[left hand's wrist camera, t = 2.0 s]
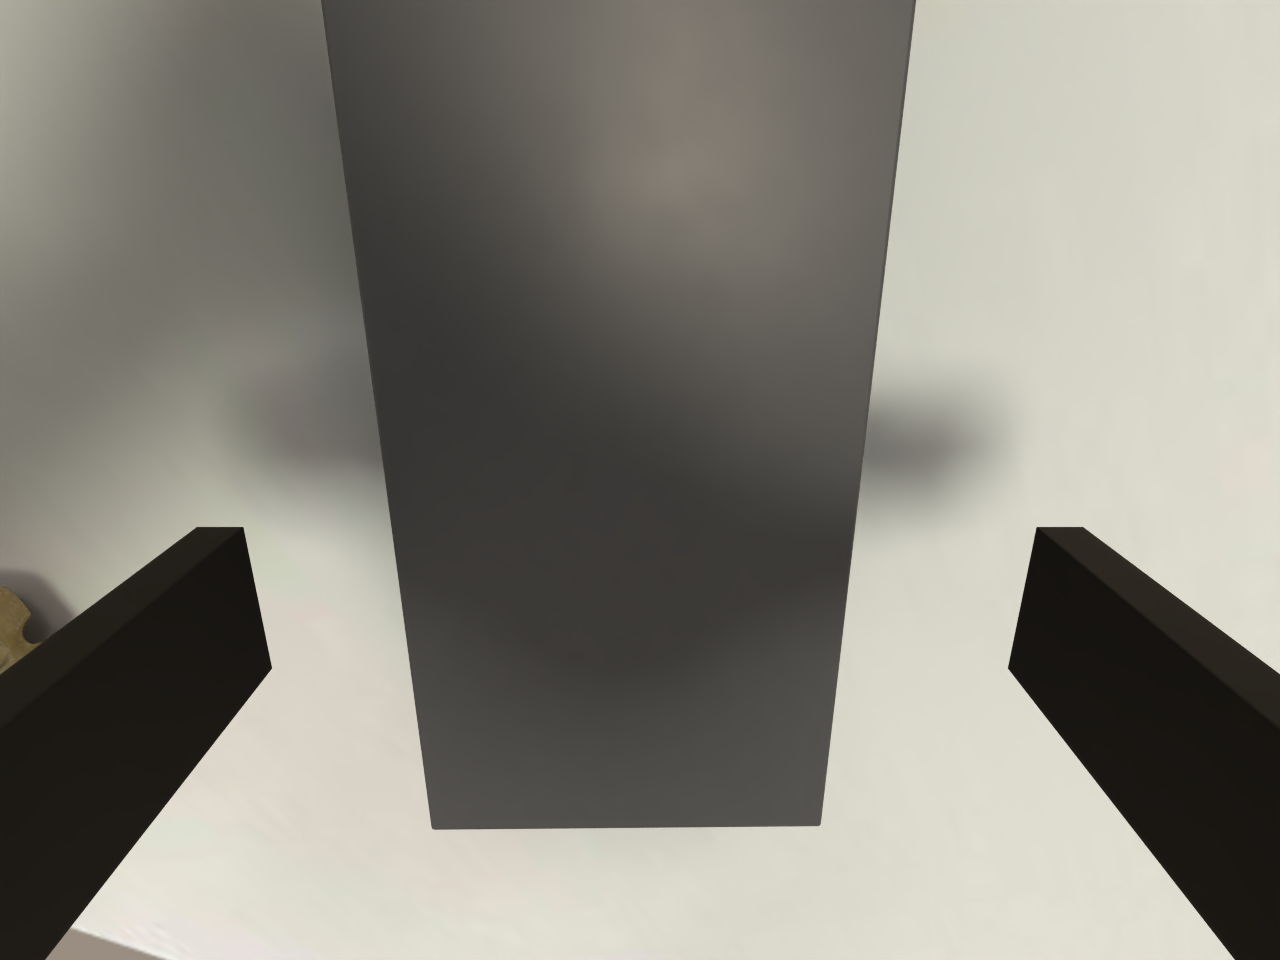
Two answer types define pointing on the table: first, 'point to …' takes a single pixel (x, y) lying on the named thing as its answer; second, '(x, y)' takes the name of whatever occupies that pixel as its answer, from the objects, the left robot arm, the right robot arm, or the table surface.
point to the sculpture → (12, 629)
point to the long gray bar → (621, 384)
